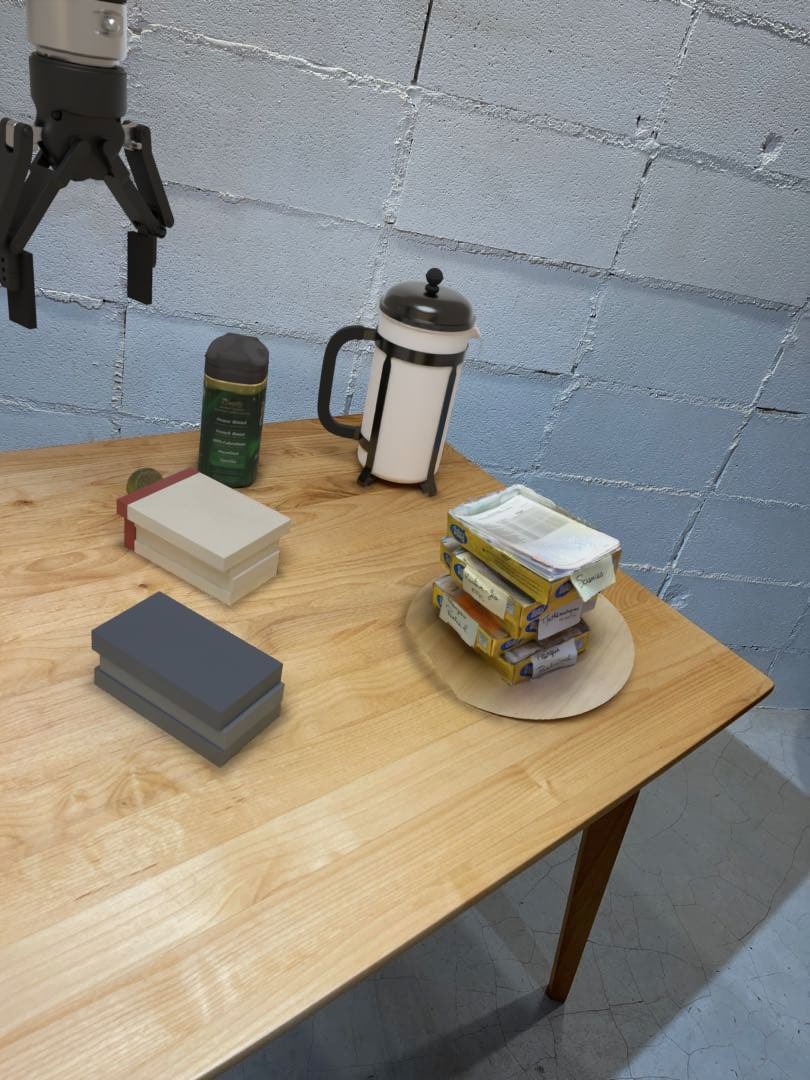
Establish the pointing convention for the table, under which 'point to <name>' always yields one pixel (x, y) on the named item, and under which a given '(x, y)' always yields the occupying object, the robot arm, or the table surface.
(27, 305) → the robot arm
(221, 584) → the white stack
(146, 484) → the lime
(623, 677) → the paper stack
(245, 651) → the grey stack
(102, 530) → the table surface
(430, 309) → the coffee press
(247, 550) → the white book
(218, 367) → the coffee jar
